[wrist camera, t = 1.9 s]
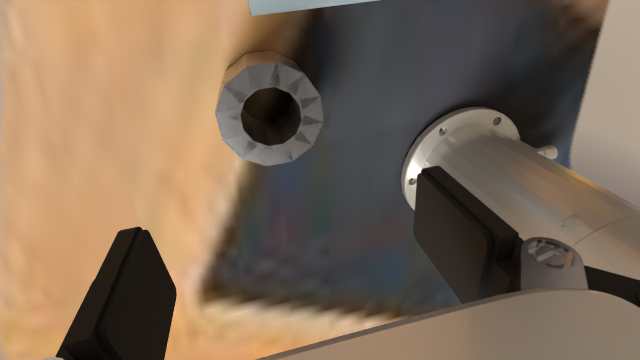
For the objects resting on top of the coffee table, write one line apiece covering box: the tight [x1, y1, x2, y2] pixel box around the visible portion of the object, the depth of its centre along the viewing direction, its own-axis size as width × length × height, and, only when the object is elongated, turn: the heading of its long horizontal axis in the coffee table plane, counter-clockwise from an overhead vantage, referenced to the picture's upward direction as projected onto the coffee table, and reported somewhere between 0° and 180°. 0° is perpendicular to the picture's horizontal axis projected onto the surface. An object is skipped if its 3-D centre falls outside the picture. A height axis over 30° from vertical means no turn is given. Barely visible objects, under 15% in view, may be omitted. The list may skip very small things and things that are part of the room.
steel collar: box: [215, 50, 323, 166], centre depth 24 cm, size 7×7×5 cm
